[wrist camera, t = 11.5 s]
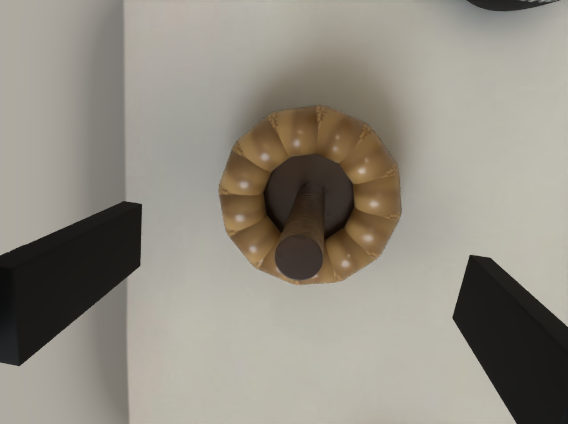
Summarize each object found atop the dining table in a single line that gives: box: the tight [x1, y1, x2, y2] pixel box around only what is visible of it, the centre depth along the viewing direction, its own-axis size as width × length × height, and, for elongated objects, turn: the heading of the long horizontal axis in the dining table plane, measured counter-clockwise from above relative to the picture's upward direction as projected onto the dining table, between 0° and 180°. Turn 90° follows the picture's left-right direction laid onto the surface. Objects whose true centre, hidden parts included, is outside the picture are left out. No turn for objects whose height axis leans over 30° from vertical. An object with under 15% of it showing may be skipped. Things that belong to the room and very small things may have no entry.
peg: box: [263, 154, 355, 281], centre depth 22 cm, size 8×8×13 cm
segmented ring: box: [219, 105, 402, 285], centre depth 25 cm, size 12×12×3 cm
